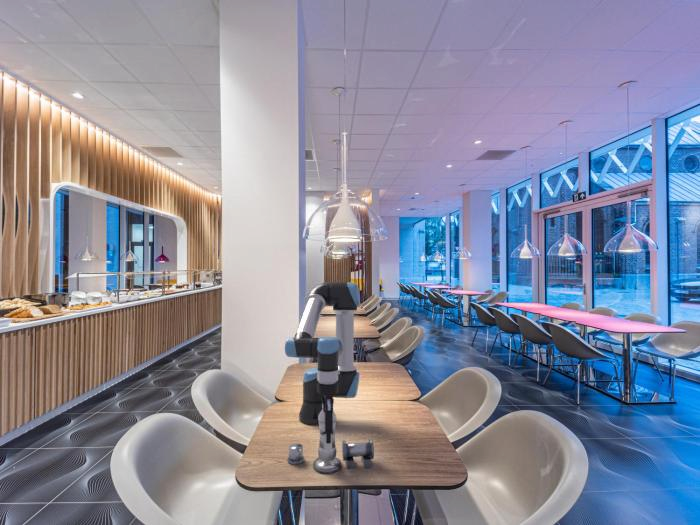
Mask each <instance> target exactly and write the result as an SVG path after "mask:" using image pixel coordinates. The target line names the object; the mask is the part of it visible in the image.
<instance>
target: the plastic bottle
mask: <svg viewBox="0 0 700 525" xmlns="http://www.w3.org/2000/svg"><path fill="white" fill-rule="evenodd" d="M322 408H323V403H322ZM318 421H319V424H318V428H319V442H318V443H319V444H318V450H317V455H318V458H320V459H321V460H322V461H326V462H329V461H333V460H334V459H335V457H336V458H337V447H336V436H335V435H336V423H337V415H336V413H335V411H334V410H333V434H332V452H324V434H323V432H325V413H324V412H323V409H322V411H321V412H320V414H319V416H318Z"/></svg>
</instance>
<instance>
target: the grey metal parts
mask: <svg viewBox="0 0 700 525" xmlns="http://www.w3.org/2000/svg"><path fill="white" fill-rule="evenodd" d="M341 451H342V461H343V462H345V465H346V470H354V469H355V459H354V458H359V457H360V460H361V463H362V466H363V468H364V469H371V468H372V460H373V459H374V458H375V446H374V442H373V439H372V438H370V439H368V442H354V443H352V442H351V443H350V442H349V443H347V442H346V440H342V444H341ZM342 461H341V459H340V458H337V456H336V457H335V459H334V460H333V461H329V462H326V461H322V460H321V459H320V458H319V457H317V458H316V459H314V461H313V463H312V469H313V470H314V471H315V472H316V473H320V474H323V475H328V474H334V473H336V472H339V471H340V470H341V468H342Z"/></svg>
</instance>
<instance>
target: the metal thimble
mask: <svg viewBox="0 0 700 525" xmlns="http://www.w3.org/2000/svg"><path fill="white" fill-rule="evenodd" d="M303 447H304V446H303V444H302V443H301V444H300V443H293V444H292V443H291V444H290V445H289V446H288V457H287V458H286V459H287V460H286V462H287V464H289V465H293V466H297V465H298V466H299V465H300V464H303V463H304V462H305V461H304V460H305V457H304V455H303V454H304V453H303V450H304V448H303Z"/></svg>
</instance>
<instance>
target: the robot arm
mask: <svg viewBox="0 0 700 525" xmlns="http://www.w3.org/2000/svg"><path fill="white" fill-rule="evenodd" d="M360 297H361V296H360V289H359V285H358V284H357V283H356V282H351V281H350V282H349V281H333V282H332V281H327V282H322V283H320V284H318V285H316V286H315V287H313V288H312V289H311V290H310V291H309V293H308V294H307V295H306V298H305V302H304V303H305V308H304V310H303V313H302V316H301V317H300V321H299V324H298V326H297V329H296V332H295V334H294V337H293V336H291V337H288V338H286V340H285V343H284V353H285V355H286V356H287V357H288V358H294V359H296V358H297V359H301V358H303V359H307V358H308V359H317V366H316V367H313V368H309V369H307V370H305V371H304V373H303V377H302V379H303V380H302V403H301V408H300V411H299V414H298V421H299V422H300V423H303V424H306V425H309V426H310V425H313V426H317V425H318V426H319V421H318V416H319V414H320V412H321V411H322V409H323V412H324V413H325V432H323V434H324V452H332V434H333V411H334V404H335V403H334V402H335V401H334V398H335V399H337V398H338V399H353V398H354V399H355V398H356V397H357V394H358V390H359V383H360V376H361V374H360V373H361V372H358V371H357V367H356V366H355V364H354V351H355V350H354V340H355V339H354V335H355V331H354V328H355V325H354V324H355V314H356V312H357V311H358V308H359V307H360V306H361V298H360ZM326 307H332V311H333V312H334V313H335V336H323V337H319V338H317V337H316V338H315V334H316V331H317V327H318V324H319V320H320V318H321V315H322V314H321V313H322V311H323V310H324V309H325V308H326ZM322 403H323V408H322Z"/></svg>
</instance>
